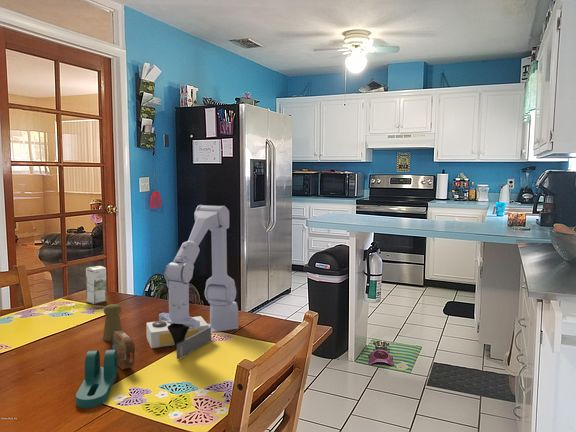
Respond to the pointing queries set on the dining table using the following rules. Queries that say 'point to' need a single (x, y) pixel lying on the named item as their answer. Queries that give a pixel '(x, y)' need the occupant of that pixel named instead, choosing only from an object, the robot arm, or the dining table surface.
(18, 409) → the dining table surface
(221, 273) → the robot arm
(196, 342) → the side door
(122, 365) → the brown rounded piece
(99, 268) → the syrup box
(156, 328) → the camera housing
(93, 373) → the bracket
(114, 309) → the olive flared pepper mill
